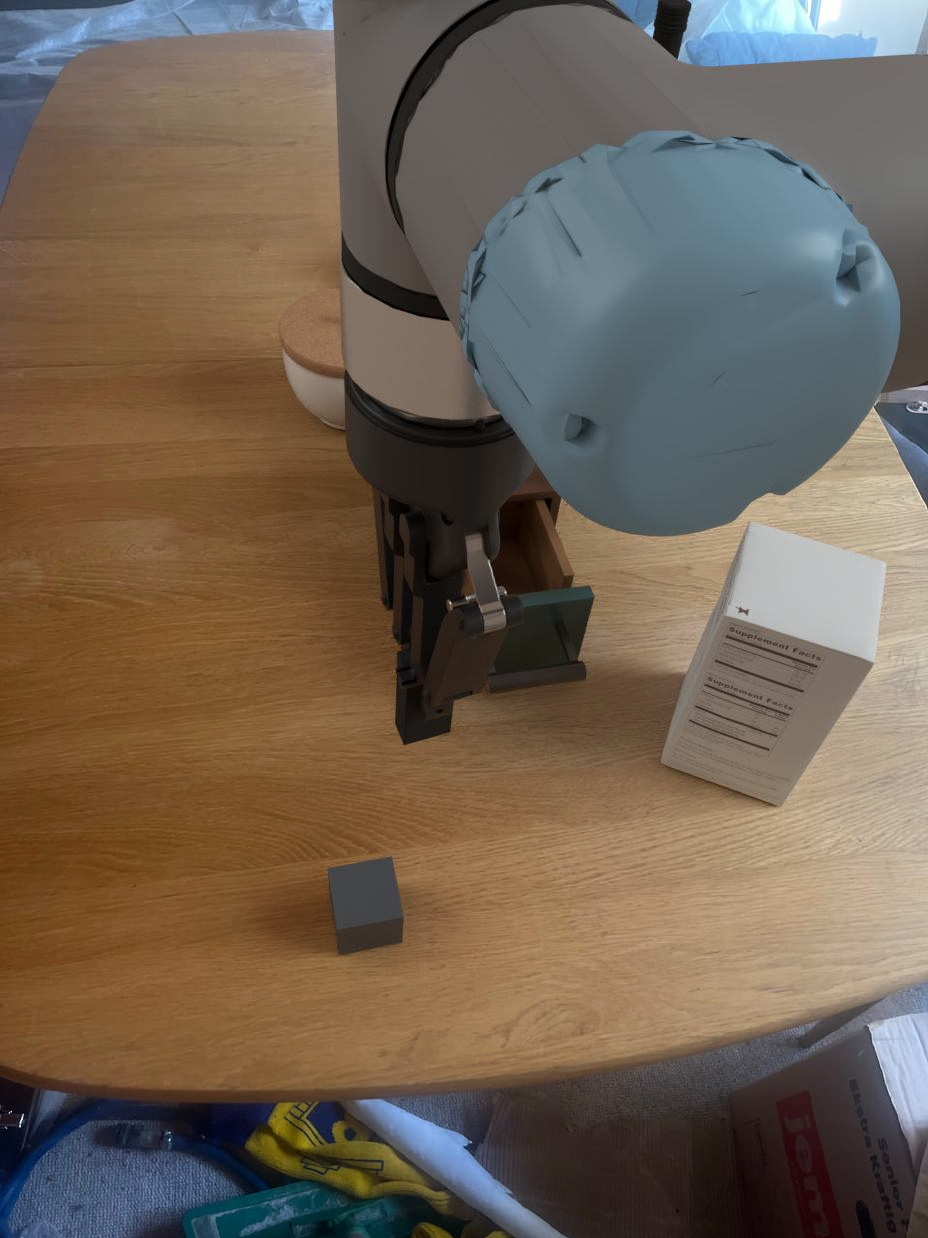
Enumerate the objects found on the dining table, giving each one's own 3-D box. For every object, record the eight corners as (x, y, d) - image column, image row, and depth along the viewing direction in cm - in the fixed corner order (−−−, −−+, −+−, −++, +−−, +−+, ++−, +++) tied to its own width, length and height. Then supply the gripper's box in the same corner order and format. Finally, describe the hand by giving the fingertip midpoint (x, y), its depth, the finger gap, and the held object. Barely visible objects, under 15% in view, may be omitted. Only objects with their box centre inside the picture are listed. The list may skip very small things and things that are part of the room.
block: (402, 942, 60) (404, 917, 57) (338, 955, 59) (336, 930, 56) (391, 883, 62) (391, 855, 59) (329, 894, 62) (327, 867, 59)
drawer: (597, 715, 71) (617, 650, 65) (460, 737, 69) (468, 672, 63) (530, 539, 82) (542, 470, 76) (411, 553, 80) (414, 483, 74)
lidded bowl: (426, 443, 91) (432, 343, 82) (292, 454, 88) (283, 352, 80) (404, 363, 98) (407, 264, 90) (280, 371, 96) (271, 270, 88)
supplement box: (782, 811, 68) (878, 669, 55) (657, 766, 70) (721, 618, 57) (801, 708, 74) (892, 558, 61) (685, 669, 76) (749, 515, 63)
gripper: (622, 462, 32) (532, 808, 50) (477, 260, 39) (444, 624, 58) (409, 508, 30) (396, 852, 48) (298, 285, 37) (323, 655, 55)
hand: (422, 727), depth 53 cm, fingers closed
